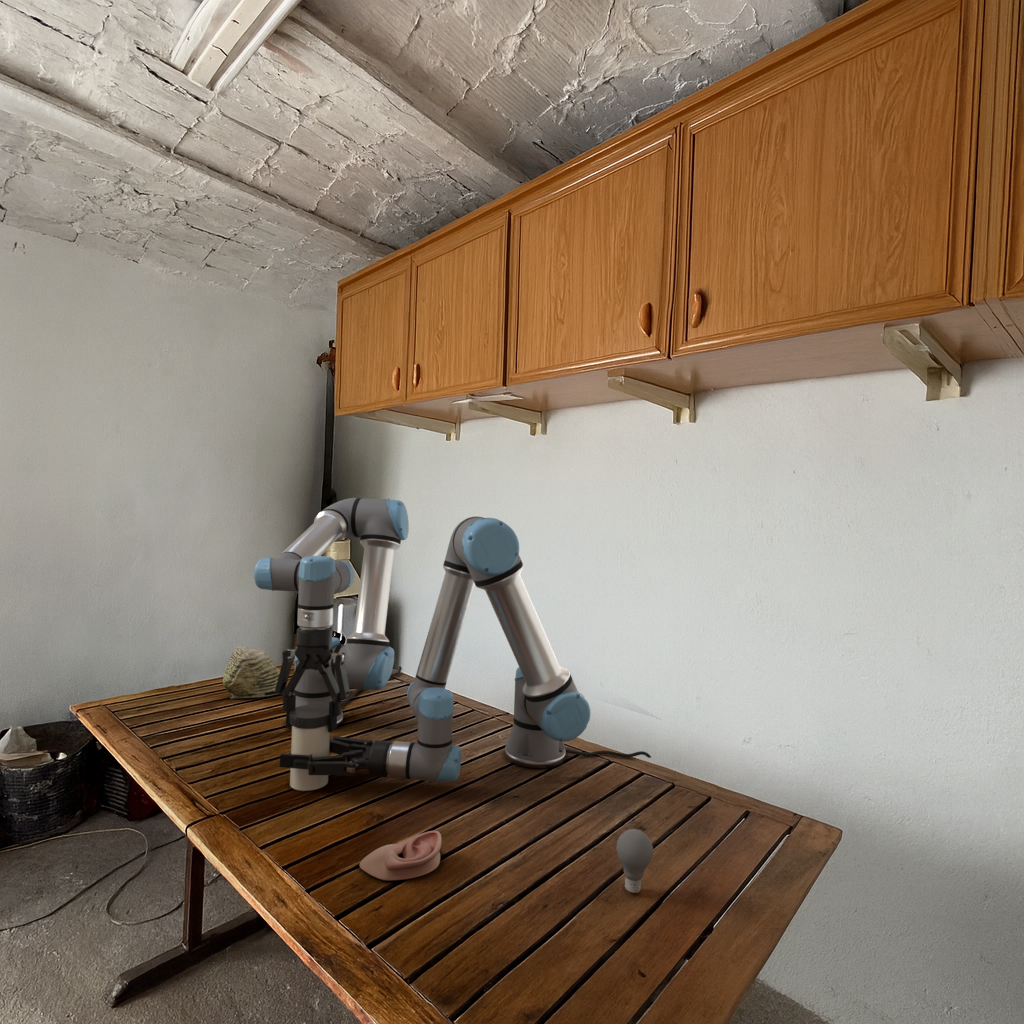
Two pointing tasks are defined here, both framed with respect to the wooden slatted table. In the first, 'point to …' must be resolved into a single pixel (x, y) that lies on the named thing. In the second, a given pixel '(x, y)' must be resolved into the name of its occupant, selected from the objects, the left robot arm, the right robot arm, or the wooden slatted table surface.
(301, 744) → the jar
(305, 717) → the lid
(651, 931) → the wooden slatted table surface
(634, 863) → the light bulb
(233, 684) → the fossil
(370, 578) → the left robot arm
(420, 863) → the anatomical model
